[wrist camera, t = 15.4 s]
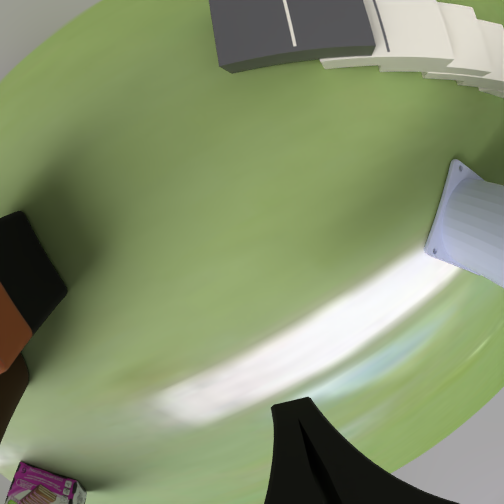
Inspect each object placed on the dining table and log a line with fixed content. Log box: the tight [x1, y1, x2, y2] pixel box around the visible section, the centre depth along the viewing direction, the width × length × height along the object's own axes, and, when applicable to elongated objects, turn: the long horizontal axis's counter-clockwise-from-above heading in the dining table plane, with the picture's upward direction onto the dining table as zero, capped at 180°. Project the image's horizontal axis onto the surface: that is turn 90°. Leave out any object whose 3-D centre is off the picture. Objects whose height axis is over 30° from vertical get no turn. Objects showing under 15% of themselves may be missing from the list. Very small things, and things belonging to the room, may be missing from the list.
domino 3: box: [378, 2, 492, 77], centre depth 12 cm, size 2×5×8 cm
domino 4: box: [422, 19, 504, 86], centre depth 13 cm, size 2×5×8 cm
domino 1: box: [209, 0, 376, 73], centre depth 12 cm, size 2×5×8 cm
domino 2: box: [320, 0, 454, 69], centre depth 12 cm, size 2×5×8 cm
